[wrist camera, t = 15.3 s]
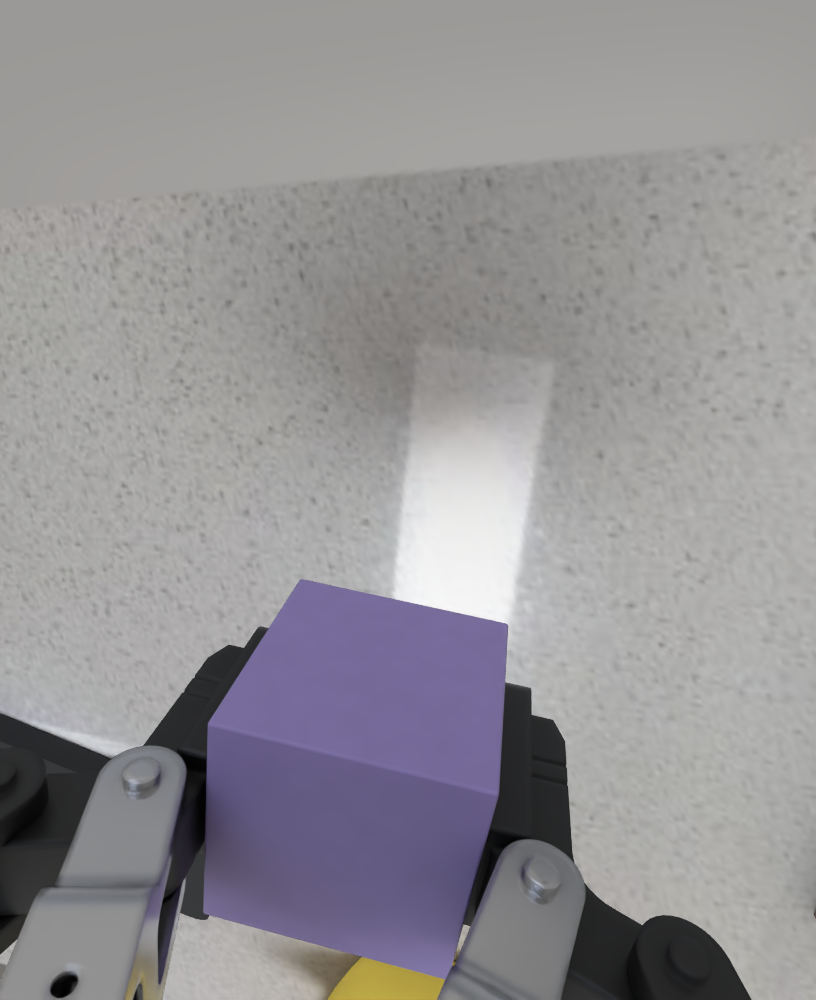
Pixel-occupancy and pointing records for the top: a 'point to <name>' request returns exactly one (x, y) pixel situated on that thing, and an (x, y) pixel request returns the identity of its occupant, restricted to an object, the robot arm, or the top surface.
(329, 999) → the teapot
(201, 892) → the smart home device
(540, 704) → the top surface
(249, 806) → the lavender cube
